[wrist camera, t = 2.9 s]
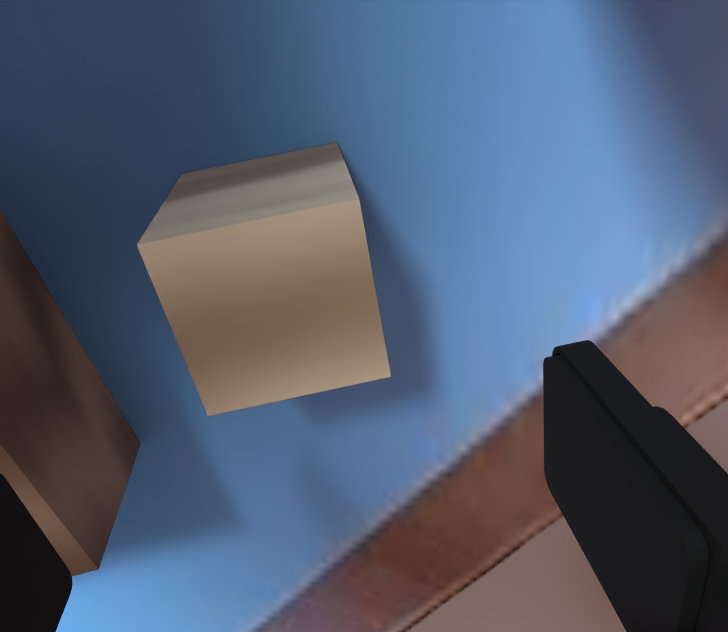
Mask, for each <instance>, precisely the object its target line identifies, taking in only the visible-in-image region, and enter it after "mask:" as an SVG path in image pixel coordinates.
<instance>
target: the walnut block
mask: <svg viewBox="0 0 728 632" xmlns="http://www.w3.org/2000/svg"><path fill="white" fill-rule="evenodd" d="M140 444H141V443H140V442H139V440H138V438H137V437H136V435H135V433H134V432H133V430H132V428H131V427H130V425H129V423H128V422H127V420H126V418H125V417H124V415H123V413H122V412H121V410H120V408H119V407H118V405H117V403H116V402H115V400H114V398H113V397H112V395H111V393H110V392H109V390H108V388H107V387H106V385H105V383H104V382H103V380H102V378H101V377H100V375H99V373H98V372H97V370H96V368H95V367H94V365H93V363H92V362H91V360H90V358H89V357H88V355H87V353H86V352H85V350H84V348H83V347H82V345H81V343H80V342H79V340H78V338H77V337H76V335H75V333H74V332H73V330H72V328H71V327H70V325H69V323H68V322H67V320H66V318H65V317H64V315H63V313H62V312H61V310H60V308H59V307H58V305H57V303H56V302H55V300H54V298H53V297H52V295H51V293H50V292H49V290H48V288H47V287H46V285H45V283H44V282H43V280H42V278H41V277H40V275H39V273H38V272H37V270H36V268H35V267H34V265H33V263H32V262H31V260H30V258H29V257H28V255H27V253H26V252H25V250H24V248H23V247H22V245H21V243H20V242H19V240H18V238H17V237H16V235H15V233H14V232H13V230H12V228H11V227H10V225H9V224H8V222H7V220H6V219H5V217H4V215H3V214H2V212H1V210H0V474H2V475H3V476H4V477H5V478H6V479H7V481H8V482H9V484H10V485H11V487H12V488H13V490H14V491H15V492H16V494H17V495H18V497H19V498H20V500H21V501H22V503H23V504H24V505H25V507H26V508H27V510H28V511H29V513H30V514H31V516H32V517H33V518H34V520H35V521H36V523H37V524H38V526H39V527H40V528H41V530H42V531H43V533H44V534H45V536H46V537H47V539H48V540H49V541H50V543H51V544H52V546H53V547H54V549H55V550H56V552H57V553H58V554H59V556H60V557H61V559H62V560H63V562H64V563H65V564H66V566H67V567H68V569H69V571H70V573H71V576H74V575H78V574H82V573H86V572H90V571H94V570H97V569H99V566H100V563H101V560H102V557H103V554H104V551H105V548H106V545H107V542H108V539H109V536H110V533H111V530H112V527H113V525H114V522H115V519H116V516H117V513H118V510H119V507H120V504H121V501H122V498H123V495H124V492H125V489H126V486H127V483H128V480H129V477H130V474H131V471H132V468H133V465H134V462H135V459H136V456H137V453H138V450H139V447H140Z"/></svg>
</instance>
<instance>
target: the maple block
mask: <svg viewBox="0 0 728 632" xmlns="http://www.w3.org/2000/svg"><path fill="white" fill-rule="evenodd" d="M137 247H138V249H139V252H140V254H141V256H142V259H143V261H144V264H145V266H146V268H147V271H148V273H149V276H150V278H151V280H152V283H153V285H154V288H155V290H156V292H157V295H158V297H159V300H160V302H161V304H162V307H163V309H164V312H165V314H166V316H167V319H168V321H169V324H170V326H171V329H172V331H173V333H174V336H175V338H176V341H177V343H178V345H179V348H180V350H181V353H182V355H183V357H184V360H185V362H186V365H187V367H188V369H189V372H190V374H191V377H192V379H193V381H194V384H195V386H196V389H197V391H198V393H199V396H200V398H201V401H202V403H203V405H204V408H205V410H206V413H207V415H208V416H211V415H216V414H220V413H225V412H230V411H234V410H239V409H244V408H248V407H253V406H257V405H262V404H267V403H271V402H276V401H281V400H285V399H290V398H295V397H299V396H304V395H309V394H313V393H318V392H322V391H327V390H332V389H336V388H341V387H346V386H350V385H355V384H360V383H364V382H369V381H374V380H378V379H383V378H387V377H391V373H390V367H389V362H388V356H387V351H386V345H385V340H384V334H383V328H382V323H381V317H380V312H379V306H378V301H377V295H376V290H375V284H374V278H373V273H372V267H371V262H370V256H369V251H368V245H367V240H366V234H365V228H364V223H363V217H362V212H361V206H360V201H359V197H358V194H357V192H356V189H355V187H354V184H353V182H352V179H351V176H350V174H349V171H348V169H347V166H346V164H345V161H344V158H343V156H342V153H341V151H340V148H339V146H338V143H337V142H335V143H330V144H325V145H320V146H315V147H311V148H306V149H301V150H296V151H291V152H286V153H281V154H276V155H271V156H266V157H262V158H257V159H252V160H247V161H242V162H237V163H232V164H227V165H222V166H217V167H213V168H208V169H203V170H198V171H193V172H188V173H183V174H181V176H180V177H179V179H178V180H177V182H176V184H175V185H174V187H173V188H172V190H171V191H170V193H169V195H168V196H167V198H166V199H165V201H164V203H163V204H162V206H161V207H160V209H159V210H158V212H157V214H156V215H155V217H154V218H153V220H152V221H151V223H150V225H149V226H148V228H147V229H146V231H145V232H144V234H143V236H142V237H141V239H140V240H139V242H138V243H137Z"/></svg>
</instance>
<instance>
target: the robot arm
mask: <svg viewBox="0 0 728 632" xmlns="http://www.w3.org/2000/svg"><path fill="white" fill-rule="evenodd" d="M543 384H544V471H545V477H546V481H547V484H548V487H549V489H550V491H551V493H552V495H553V497H554V499H555V501H556V503H557V504H558V506H559V508H560V510H561V512H562V514H563V515H564V517H565V519H566V521H567V523H568V525H569V526H570V528H571V530H572V532H573V534H574V536H575V537H576V539H577V541H578V543H579V545H580V547H581V549H582V550H583V552H584V554H585V556H586V558H587V559H588V561H589V563H590V565H591V567H592V569H593V571H594V572H595V574H596V576H597V578H598V580H599V581H600V583H601V585H602V587H603V589H604V591H605V593H606V594H607V596H608V598H609V600H610V602H611V604H612V605H613V607H614V609H615V611H616V613H617V615H618V617H619V618H620V620H621V622H622V624H623V626H624V628H625V629H626V631H627V632H728V474H727V473H726V472H725V471H724V469H723V468H722V467H721V466H720V465H719V464H718V463H717V462H716V461H715V460H714V459H713V458H712V457H711V456H710V455H709V454H708V453H707V452H706V451H705V450H704V449H703V448H702V446H701V445H699V443H698V442H697V441H696V440H695V439H694V438H693V437H692V436H691V435H690V434H689V433H688V432H687V431H686V430H685V429H684V428H683V427H682V426H681V425H680V423H679V422H678V421H677V420H676V419H675V418H674V417H673V416H672V415H671V414H670V413H668V412H667V411H666V410H665V409H663V408H660V407H658V406H655V407H652V406H651V405H650V404H649V402H648V401H647V400H646V399H645V398H644V397H643V396H642V395H641V394H640V393H639V392H638V391H637V390H636V388H635V387H634V386H633V385H632V384H631V383H630V382H629V381H628V380H627V379H626V378H625V377H624V376H623V374H622V373H621V372H620V371H619V370H618V369H617V368H616V367H615V366H614V365H613V364H612V363H611V362H610V360H609V359H608V358H607V357H606V356H605V355H604V354H603V353H602V352H601V351H600V350H599V349H598V348H597V346H596V345H595V344H594V343H592V342H591V341H588V340H586V341H581V342H576V343H571V344H566V345H561V346H557V347H555V348H554V350H553V353H552V356H551V357H546V358H545V359H544V363H543ZM71 590H72V576H71V573H70V571H69V569H68V567H67V566H66V564H65V563H64V562H63V560H62V559H61V557H60V556H59V554H58V553H57V552H56V550H55V549H54V547H53V546H52V544H51V543H50V541H49V540H48V539H47V537H46V536H45V534H44V533H43V531H42V530H41V528H40V527H39V526H38V524H37V523H36V521H35V520H34V518H33V517H32V516H31V514H30V513H29V511H28V510H27V508H26V507H25V505H24V504H23V503H22V501H21V500H20V498H19V497H18V495H17V494H16V492H15V491H14V490H13V488H12V487H11V485H10V484H9V482H8V481H7V479H6V478H5V477H4V476H3V475H2V474H0V632H56V629H57V626H58V624H59V621H60V619H61V616H62V614H63V611H64V609H65V606H66V604H67V601H68V598H69V596H70V593H71Z"/></svg>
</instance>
